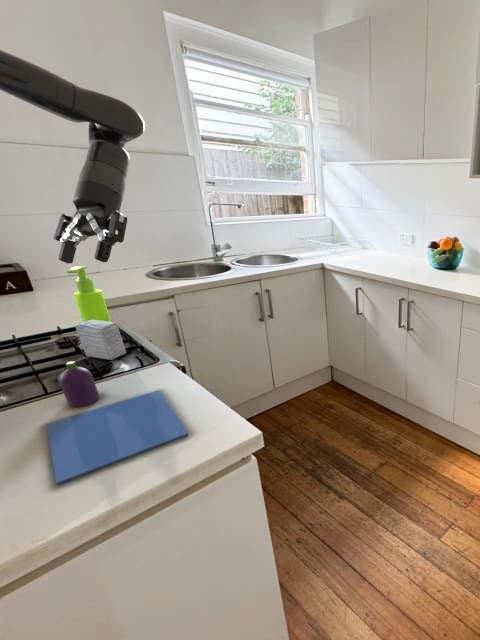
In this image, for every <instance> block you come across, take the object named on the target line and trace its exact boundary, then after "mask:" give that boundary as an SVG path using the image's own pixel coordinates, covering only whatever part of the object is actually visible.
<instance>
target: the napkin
mask: <svg viewBox="0 0 480 640" xmlns="http://www.w3.org/2000/svg"><path fill="white" fill-rule="evenodd" d="M46 429H47V435H48V436H47V437H48V441H49V449H50V454H51V460H52V466H53V472H54V478H55V484H56V485H57V486H58V485H60V484H63V483H66V482H69V481H71V480H74V479H76V478H79V477H82V476H84V475H87V474H90V473H92V472H94V471H97V470H100V469H103V468H105V467H107V466H110V465H113V464H115V463H118V462H121V461H124V460H126V459H129V458H131V457H134V456H137V455H139V454H142V453H144V452H146V451H149V450H152V449H155V448H157V447H160V446H162V445H165V444H169V443H170V442H173V441H176V440H178V439H181V438H183V437H187V436H188V435H189V432H188V431H187V429H186V428H185V427H184V425H183V423H182V422H181V420H180V419H179V417H178V416H177V414H176V413H175V412H174V410H173V408H172V407H171V406H170V405H169V403H168V402H167V400H166V399H165V397H164V396H163V394H162V393H161V391H160V390H156V391H152V392H147V393H144V394H142V395H139V396H135V397H132V398H128V399H125V400H121V401H119V402H115V403H112V404H108V405H104V406H102V407H97V408H95V409H92V410H89V411H85V412H81V413H77V414H75V415H72V416H68V417H64V418H61V419H59V420H54V421H51V422H48V423H46Z"/></svg>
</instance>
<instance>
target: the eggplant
mask: <svg viewBox="0 0 480 640" xmlns="http://www.w3.org/2000/svg"><path fill="white" fill-rule="evenodd" d="M65 366H66V369H65V370H64V371H63V372H62V373H61V374H60V376H59V379H58V380H59V381H58V382H59V385H60V388H61V390H62V392H63V395H64V398H65V400H66V402H67V405H68V406H69V407H70V408H81V407H86V406H89V405H92V404H94V403H96V402H97V401H99V400H100V397H101V395H100V393H99V390H98V388H97V385H96V382H95V379H94V377H93V374H92V372H91V371H90V369H89V370H88V369H87V368H85V367H82V366H77V363H76V361H73V360H72V361H67V362H65Z"/></svg>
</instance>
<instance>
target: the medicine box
mask: <svg viewBox="0 0 480 640" xmlns="http://www.w3.org/2000/svg"><path fill="white" fill-rule="evenodd" d="M75 329H76V332H77V335H78V339H79V340H80V343H81V346H82V350H83V352H84V354H85V357H88V358H93V359H94V358H96V359H103V360H109V361H112V360H116V359H118V358H120V357H121V356H124V355H126V354H127V349H126V347H125V344H124V340H123V338H122V335H121V331H120V329H119V326H118V323H117V322H114V321H111V322H107V321H99V320H89V321H86V322H83V321H82V322H80V323H78V324H76V325H75Z"/></svg>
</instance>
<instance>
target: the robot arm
mask: <svg viewBox="0 0 480 640" xmlns="http://www.w3.org/2000/svg"><path fill="white" fill-rule="evenodd" d="M0 91H2V92H4V93H6V94H8V95H10V96H11V97H15V98H17V99H19V100H21V101H23V102H26V103H28V104H29V105H32V106H34V107H37V108H39V109H41V110H43V111H46V112H48V113H50V114H51V115H52V114H53V115H55V116H57V117H59V118H62V119H64V120H67V121H68V122H72V123H77V124H78V123H79V124H81V123H82V124H83V123H88V146H89V147H88V150H87V152H86V156H85V160H84V163H83V166H82V167H81V170H80V173H79V175H78V179H77V183H76V187H75V191H74V194H73V198H72V204H73V205H74V206H75V209H76V211H75V212H74V214H73V215H69V214H67V213H62V214H60V217H59V219H58V220H59V221H58V223H57V226H56V229H55V232H54V235H53V240H55V241H57V242H59V243H61V246H60V249H59V253H58V260H59V261H61V262H62V263H65V264H73V262H74V259H75V255H76V251H77V247H78V245H79V244H80V243H81V242H82V241H83V242H84V241H86V240H87V239H89V237H94V236H96V237H98V239H99V240H98V241H97V244H96V248H95V252H94V256H93V257H94V259H95V260H97V261H99V262H101V263H108V262H109V259H110V257H111V252H112V249H113V247H114V246H115V245H116V243H119V244H122V243H123V242H124V241H125V234H126V229H127V223H128V216H126V215H124V214H123V213H121V208H122V203H123V199H124V195H125V191H126V180H127V175H128V173H129V168H130V162H131V160H130V155H129V153H128V152H127V151H126V149H125V145H126V144H128V143H129V142H131V141H133V140H136V139H139V138H140V137H141V136H142V135H143V134H144V132H145V121H144V120H143V118H142V116H141V115H140V114H139V112H137V110H136V109H135V108H133V107H132V106H131V105H129V104H128V103H126V102H124V101H122V100H120V99H118V98H116V97H113V96H109V95H107V94H104V93H100V92H98V91H95V90H91V89H87V88H84V87H81V86H79V85H77V84H75V83H73V82H71V81H69V80H68V79H65V78H63V77H61V76H60V75H57V74H55V73H53V72H51V71H50V70H47V69H45V68H43V67H42V66H40V65H37V64H35V63H32V62H30V61H28V60H26V59H23V58H21V57H18V56H16V55H14V54H11V53H9V52H6V51H5V50H1V49H0ZM76 230H77V231H76ZM116 231H117V233H116ZM63 233H64V234H63ZM73 237H74V239H73ZM72 239H73V240H72Z"/></svg>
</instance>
